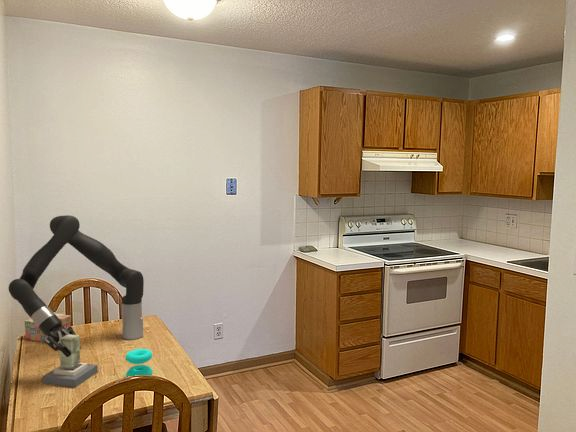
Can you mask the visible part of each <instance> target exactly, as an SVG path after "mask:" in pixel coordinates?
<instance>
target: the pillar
mask: <svg viewBox="0 0 576 432" xmlns="http://www.w3.org/2000/svg"><path fill="white" fill-rule="evenodd" d="M61 339H62V342H63V343H64V345H65V347H67V348H68V349H69V351H70V352H71V353H72V354H71V355H70V356H69V357H66V356H65V355H64V354H63V353H62V351H59V357H60V358H59V359H60V360H59V361H60V362H59V363H60V365H59V366H64V367H73V366H75V365H77V364H78V363H81V351H80V350H81V349H80V348H81V345H80V343H81V342H80V334H76V335H71V334H69V335H66V336H64V337H62V338H61ZM60 345H61V344H60Z"/></svg>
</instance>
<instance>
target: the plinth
mask: <svg viewBox="0 0 576 432" xmlns="http://www.w3.org/2000/svg"><path fill="white" fill-rule="evenodd" d="M97 373H99V369H98V364H93V363H92V364H91V363H88V362H87V363H86V362H80V363H78V364H77V365H75V366H73V367H64V366H61V365H59V366H57V367H55V368H53V369H52V370H50V371H49V372H46V374H44V375H42V384H43V385H44V384H45V385H51V386H52V385H53V386H61V387H69V388H77V387H78V386H81V384H82V383H84V382H86V381H87V380H89V379H90V378H91V377H93V376H94V375H95V374H97Z"/></svg>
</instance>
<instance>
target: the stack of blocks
mask: <svg viewBox="0 0 576 432" xmlns="http://www.w3.org/2000/svg"><path fill="white" fill-rule="evenodd" d="M55 315H56V316H57V317H58V318H59V319H60V320H61V322H62V326H63V327H65V328H69V327H70V326H71V327H72V315H70V314H65V313H55ZM24 328H25V331H24V332H25V340H29V341H37V342H41V343H42V342H43V343H45V342H44V341H45V340H46V339H47V338H48V335H47V336H45V335H44V334H43V333H42V331H41V330H40V329H39V328H38V327H37V326H36V324H35V323H34V322H33V320H32V319H31V318H29V319H27V320H24Z"/></svg>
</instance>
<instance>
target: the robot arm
mask: <svg viewBox="0 0 576 432" xmlns="http://www.w3.org/2000/svg"><path fill="white" fill-rule="evenodd" d="M49 229H50V231H51V233H52V234H53V236H51V238H50V239H49V240H48V241H47V242H46V243H45V244H44V245H42V247H40V249H38V250H37V251H36V252H35V253H34V254H33V255H32V256H31V258H30V259H29V260H28V262H27V263H26V265H24V267H23V269H22V273H21V276H20V277H19V278H16V279H13V280H12V281H10V282H9V284H8V292H9V294H10V296H11V298H13V299H14V300H15V301H17V302H18V304H20V305H21V306H22V309H23V310H24V312H25V313H26V314H27V315H28V317H29V319H32V320H33V322H34V323H35V324H36V326H37V327H38V328H39V329H40V330H41V331H42V333H43V334H44V335H45V336H47V335H48V338H47V339H46V340H45V341H44V342H43V343H45V344H46V345H47V346H48V347H49V348H51V349H52V351H53V350H54V352H57V351H59V352H60V351H62V353H63V354H64V355H65V356H66V357H69V356H70V355H71V354H72V353H71V352H70V351H69V349H68V348H67V347H65V345H64V343H63V342H62V339H61V338H62V337H64V336H66V335H69V334H71V335H77V334H76V332H75V331H74V329H73V327H72V325H71V326H70V327H69V328H65V327H63V326H62V322H61V320H60V319H59V318H58V317H57V316H56V315H55V314H56V313H55V312H54V311H53V310H52V309H51V308H50V307H49V306H48V305H47V304H46V303H45V302H44V300H42V299H41V298H40V296H39V295H38V294H37V293H36V292H35V290H34V288H35V287H36V284H37V283H38V281H39V279H40V277H41V276H42V275H43V274H44V272H45V271H46V270H47V268H48V267H49V265H50V263H52V261H53V260H54V258H55V257H56V256H57V255H58V254H59V252H61V250H62V249H63V248H64V247H65V246H66V244H68V245H70V246H71V247H73V248H74V249H75V250H76V251H78V252H79V253H80V254H81V255H82V256H84V257H85V258H86V259H88V260H89V261H90V262H91V263H93V264H94V265H95V266H96V267H98V268H99V269H101V270H103V271H104V272H106V274H109V276H110V277H112V278H113V279H114V280H115V281H116V282H117V283H118V284H119V285H120V286H121V287H123V288H125V295H123V296H122V297H121V324H122V326H121V328H122V329H121V330H122V334H121V335H122V339H124V340H136V339H140V338H144V318H143V310H142V309H143V308H142V307H143V305H142V304H143V303H142V301H143V300H142V299H143V296H144V283H145V280H144V276H143V274H142V272H140V271H139V270H136V269H131V268H129V267H127V266H126V265H124V264H122V263H121V262H120V261H119V260H118V259H117V257H116V255H115V254H114V252H113V251H112V250H111V249H110V248H108V247H107V246H106V245H105V244H104V243H102V242H101V241H99V240H97V239H95V238H93V237H91V236H88V235H87V234H84V233H83V232H81V231H80V221H79V219H78V217H76V216H73V215H69V214H68V215H58V216H55V217H53V218H52V219H51V220H50V222H49ZM60 344H61V345H60ZM80 350H82V349H81V347H80Z"/></svg>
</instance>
